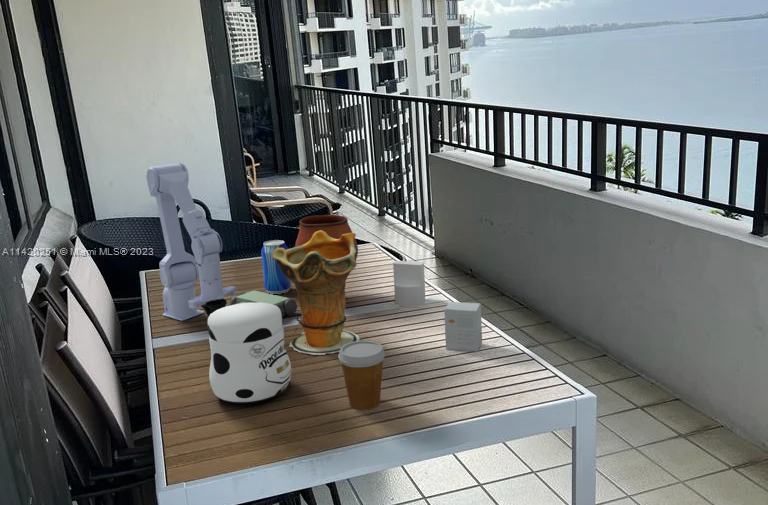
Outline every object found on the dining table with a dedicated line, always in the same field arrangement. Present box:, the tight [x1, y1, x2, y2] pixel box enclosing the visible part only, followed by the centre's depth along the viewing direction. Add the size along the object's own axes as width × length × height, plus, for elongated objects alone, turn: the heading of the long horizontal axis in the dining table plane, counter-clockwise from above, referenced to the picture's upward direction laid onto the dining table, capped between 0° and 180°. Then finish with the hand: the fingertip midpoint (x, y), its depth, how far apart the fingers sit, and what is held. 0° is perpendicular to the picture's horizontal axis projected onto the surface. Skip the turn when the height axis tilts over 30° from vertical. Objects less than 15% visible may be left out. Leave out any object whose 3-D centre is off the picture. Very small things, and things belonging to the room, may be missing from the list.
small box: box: [443, 301, 483, 353], centre depth 166 cm, size 8×6×10 cm
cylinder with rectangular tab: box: [392, 260, 426, 308], centre depth 200 cm, size 9×9×12 cm
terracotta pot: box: [294, 214, 359, 262], centre depth 205 cm, size 19×19×25 cm
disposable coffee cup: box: [337, 340, 386, 411], centre depth 140 cm, size 10×10×12 cm
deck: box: [229, 290, 298, 319], centre depth 197 cm, size 18×14×4 cm
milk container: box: [207, 302, 292, 405], centre depth 146 cm, size 17×17×18 cm
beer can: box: [260, 239, 292, 295], centre depth 216 cm, size 8×8×16 cm
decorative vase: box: [272, 230, 361, 356], centre depth 171 cm, size 21×23×28 cm
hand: (216, 326), depth 186 cm, fingers closed
